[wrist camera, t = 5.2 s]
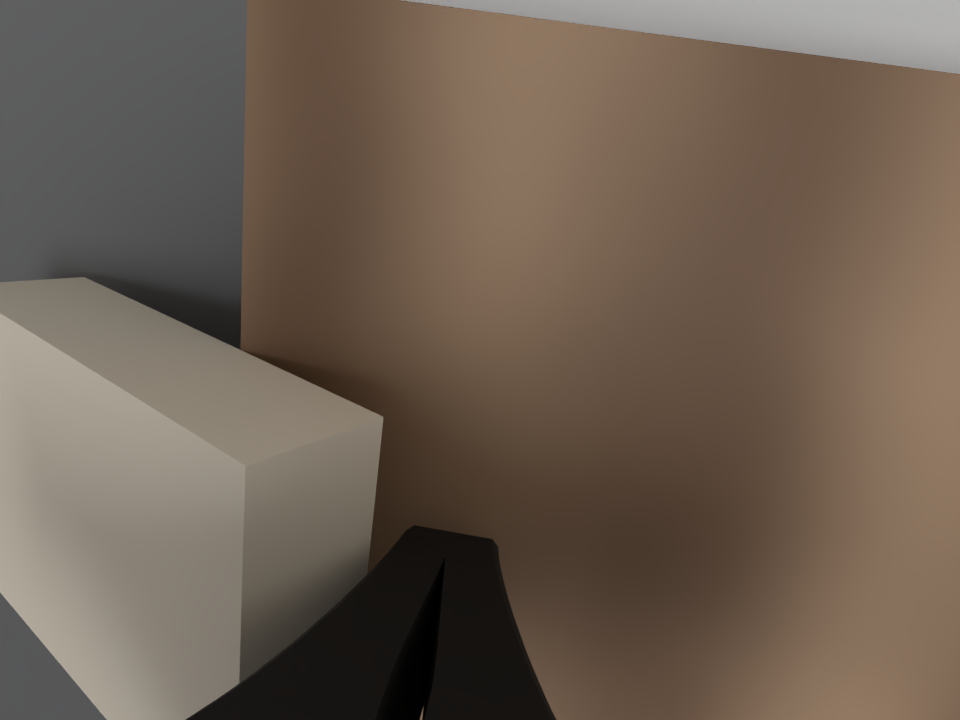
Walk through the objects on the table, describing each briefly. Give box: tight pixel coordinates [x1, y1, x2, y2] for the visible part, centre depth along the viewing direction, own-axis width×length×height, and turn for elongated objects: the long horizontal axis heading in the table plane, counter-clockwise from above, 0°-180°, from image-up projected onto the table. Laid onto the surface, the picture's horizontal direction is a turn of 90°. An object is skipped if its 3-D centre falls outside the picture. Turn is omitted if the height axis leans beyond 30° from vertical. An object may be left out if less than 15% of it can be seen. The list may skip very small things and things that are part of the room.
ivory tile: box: [0, 277, 383, 720], centre depth 10 cm, size 8×6×2 cm
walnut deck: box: [240, 0, 960, 720], centre depth 12 cm, size 14×16×4 cm
